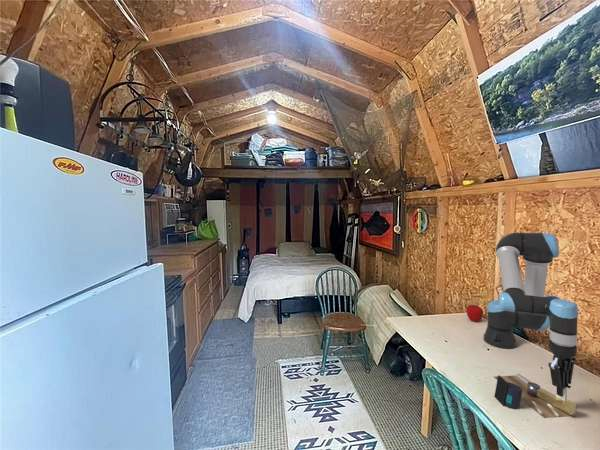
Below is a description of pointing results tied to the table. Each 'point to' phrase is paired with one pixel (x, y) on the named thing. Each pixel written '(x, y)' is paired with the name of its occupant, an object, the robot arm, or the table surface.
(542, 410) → the plate
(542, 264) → the robot arm
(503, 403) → the speaker
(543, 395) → the latch bar
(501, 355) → the table surface
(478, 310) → the apple
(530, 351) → the table surface
